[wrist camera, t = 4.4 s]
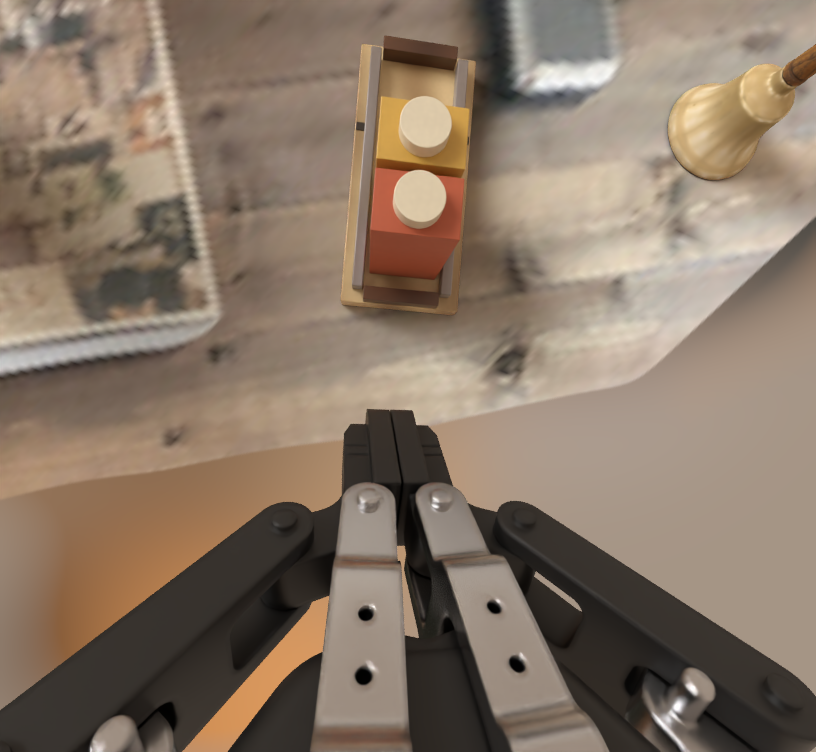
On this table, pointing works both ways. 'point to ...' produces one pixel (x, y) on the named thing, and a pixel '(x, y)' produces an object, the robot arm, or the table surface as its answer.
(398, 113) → the yellow toy brick
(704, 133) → the hand bell
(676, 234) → the table surface
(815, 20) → the table surface
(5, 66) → the table surface
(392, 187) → the block
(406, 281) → the score rail
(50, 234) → the table surface
